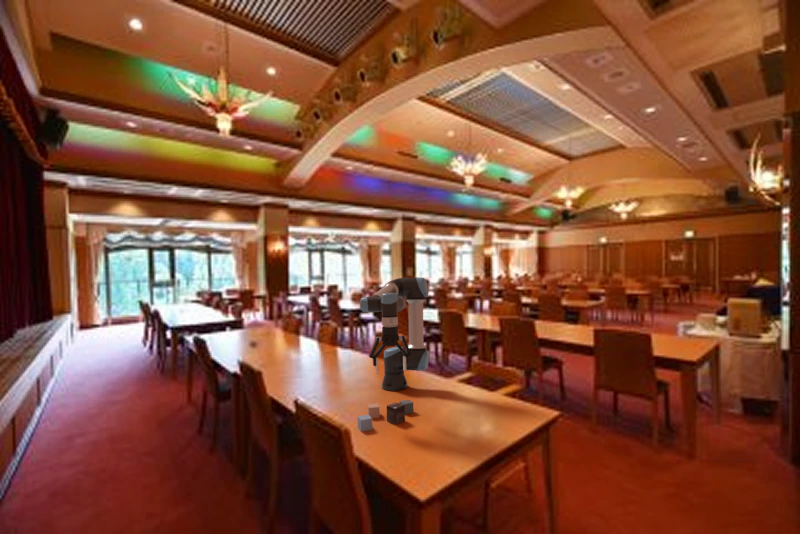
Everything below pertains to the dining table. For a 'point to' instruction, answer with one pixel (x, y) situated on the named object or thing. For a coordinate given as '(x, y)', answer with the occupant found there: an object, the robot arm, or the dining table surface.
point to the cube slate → (364, 423)
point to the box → (395, 413)
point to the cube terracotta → (373, 410)
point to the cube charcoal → (407, 406)
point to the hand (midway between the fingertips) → (390, 371)
